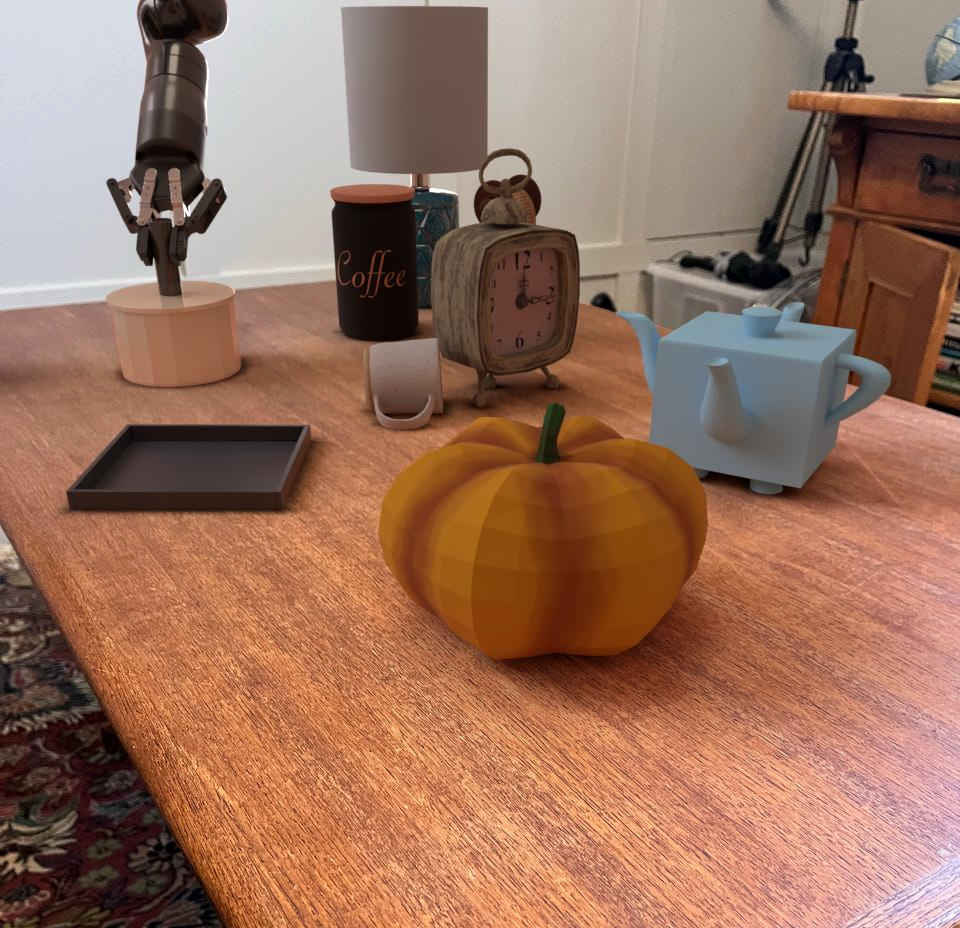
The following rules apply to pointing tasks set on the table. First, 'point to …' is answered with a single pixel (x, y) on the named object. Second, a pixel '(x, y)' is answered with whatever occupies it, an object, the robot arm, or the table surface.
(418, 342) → the ceramic mug
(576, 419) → the decorative pumpkin
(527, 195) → the dark rounded piece
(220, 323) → the canister
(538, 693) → the table surface
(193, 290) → the lid
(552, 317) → the tabletop clock
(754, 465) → the teakettle
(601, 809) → the table surface
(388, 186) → the coffee jar
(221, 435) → the tray
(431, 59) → the lamp
